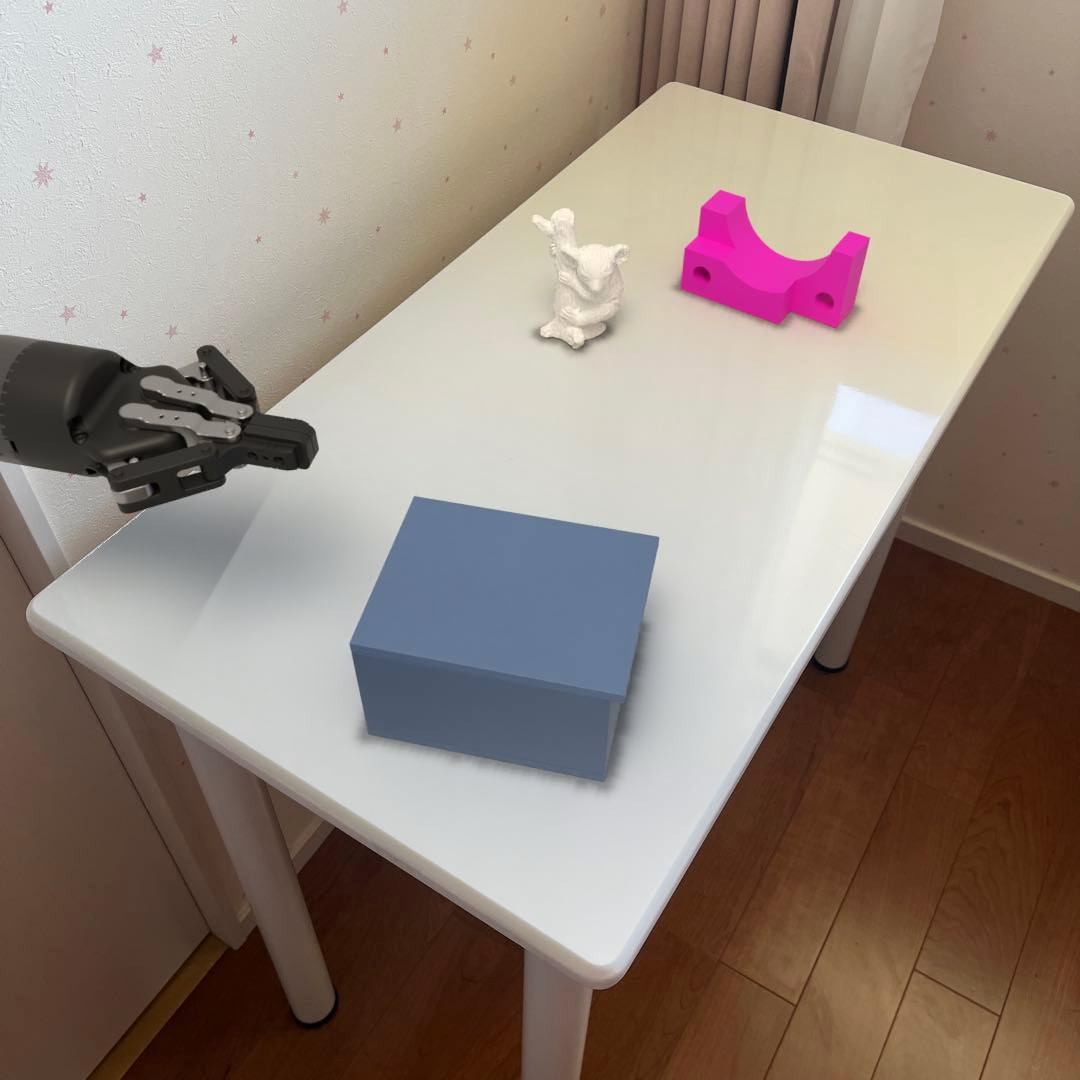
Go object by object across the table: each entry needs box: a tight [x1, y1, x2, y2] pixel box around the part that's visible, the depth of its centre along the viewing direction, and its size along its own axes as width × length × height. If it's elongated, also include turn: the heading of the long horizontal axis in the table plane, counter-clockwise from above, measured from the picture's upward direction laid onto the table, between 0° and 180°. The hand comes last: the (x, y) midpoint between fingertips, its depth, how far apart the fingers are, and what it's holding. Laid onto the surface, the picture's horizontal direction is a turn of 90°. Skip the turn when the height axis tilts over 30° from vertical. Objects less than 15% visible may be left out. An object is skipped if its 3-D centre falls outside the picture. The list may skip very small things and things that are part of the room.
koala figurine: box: [531, 207, 631, 350], centre depth 97 cm, size 8×7×12 cm
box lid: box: [348, 495, 660, 704], centre depth 68 cm, size 16×13×1 cm
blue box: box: [350, 650, 622, 782], centre depth 71 cm, size 16×13×9 cm
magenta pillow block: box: [680, 189, 871, 329], centre depth 102 cm, size 15×6×8 cm, turn 56°
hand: (312, 448), depth 63 cm, fingers closed
